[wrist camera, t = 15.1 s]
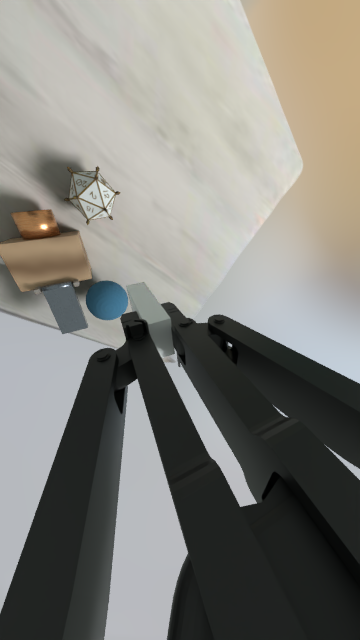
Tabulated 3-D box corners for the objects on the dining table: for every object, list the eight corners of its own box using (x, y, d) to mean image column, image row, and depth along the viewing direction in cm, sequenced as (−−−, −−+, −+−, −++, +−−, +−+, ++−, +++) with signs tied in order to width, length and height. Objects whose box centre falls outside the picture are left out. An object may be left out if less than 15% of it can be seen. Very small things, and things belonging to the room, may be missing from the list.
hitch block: (10, 238, 36) (-11, 247, 28) (78, 230, 39) (76, 236, 32) (32, 281, 40) (19, 297, 33) (91, 270, 43) (92, 283, 36)
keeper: (42, 285, 35) (40, 286, 34) (71, 280, 36) (70, 281, 35) (63, 331, 39) (62, 334, 38) (88, 325, 40) (87, 327, 39)
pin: (16, 212, 34) (4, 213, 29) (53, 209, 36) (48, 209, 31) (54, 294, 42) (50, 305, 38) (83, 288, 44) (82, 298, 39)
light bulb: (126, 276, 47) (136, 294, 38) (117, 306, 50) (124, 330, 41) (90, 266, 43) (90, 283, 33) (82, 299, 46) (81, 324, 36)
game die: (84, 203, 40) (46, 207, 32) (92, 157, 35) (49, 148, 27) (121, 227, 41) (93, 237, 33) (134, 186, 36) (104, 186, 28)
